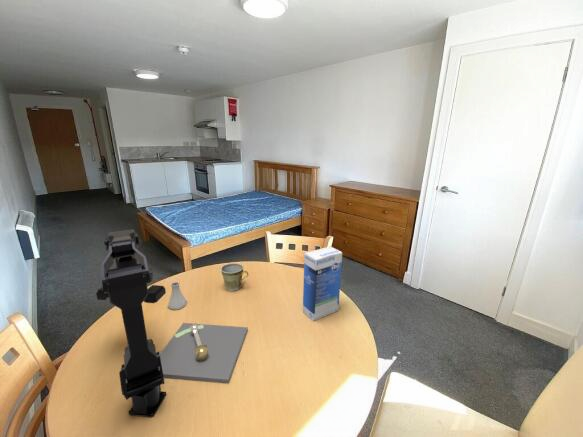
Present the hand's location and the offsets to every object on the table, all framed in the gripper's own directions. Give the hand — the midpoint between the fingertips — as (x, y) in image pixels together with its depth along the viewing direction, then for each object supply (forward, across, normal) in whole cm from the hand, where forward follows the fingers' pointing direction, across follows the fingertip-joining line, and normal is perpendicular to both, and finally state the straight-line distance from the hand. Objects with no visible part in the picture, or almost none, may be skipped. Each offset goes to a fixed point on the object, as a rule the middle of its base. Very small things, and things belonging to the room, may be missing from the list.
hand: (135, 316), depth 83 cm
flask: (+12, 0, -24) cm, 27 cm away
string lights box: (+12, -59, -26) cm, 66 cm away
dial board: (+12, -20, -1) cm, 24 cm away
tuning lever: (+10, -19, -2) cm, 22 cm away
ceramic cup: (+12, -20, -40) cm, 46 cm away
